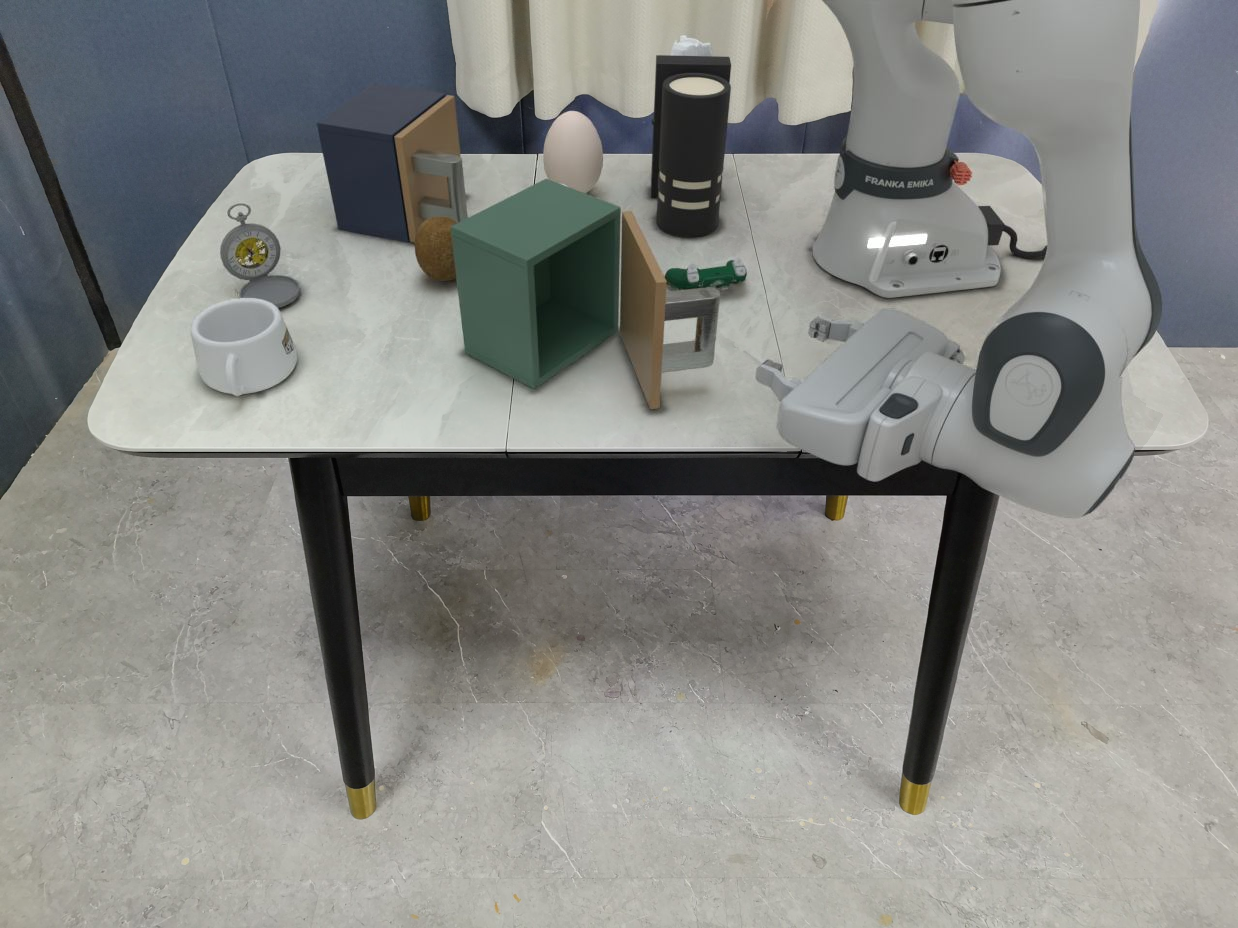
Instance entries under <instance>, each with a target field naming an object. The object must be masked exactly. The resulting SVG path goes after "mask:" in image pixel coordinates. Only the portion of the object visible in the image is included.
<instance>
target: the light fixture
mask: <svg viewBox="0 0 1238 928" xmlns="http://www.w3.org/2000/svg"><path fill="white" fill-rule="evenodd" d="M731 72H732V61H731V58H730V56H717V55H716V56H715V55H713V56H671V55H668V54H667V55H665V54H663V55H662V54H656V56H655V77H654V99H653V118H652V119H651V125H652V126H653V127H652V146H651V147H652V149H651V172H650V173H651V174H650V198H651V199H656V218H655V221H656V225H657V227H658V228H659V229H660V230H661V231H662V232H664V233H666V234H668V235H671V236H676V237H681V238H700V237H704V236H707V235H709V234H711V233H713V232H715V230H716V229H717V228H718V225H719V216H720V208H721V207H720V206H721V192H722V187H723V185H722V184H723V172H724V164H725V153H726V144H727V134H728V123H729V114H730V113H729V112H730V103H731V92H732V91H731V90H732V85H731V75H732V73H731Z"/></svg>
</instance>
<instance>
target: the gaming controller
mask: <svg viewBox="0 0 1238 928" xmlns="http://www.w3.org/2000/svg"><path fill="white" fill-rule="evenodd" d="M747 275H748V271H747V268H746V266H745V264H744V262H743V259H741V258H740V257H738V256H737V257H735V258H734V259H730V260H728V261H727V262H726V263H725V265H722V266H714V267H706V268H698V266H697V265H696V264H695V263H690V264H689V265H688V266H687V268H681V267H672V268H668V269H667V270H666V271H665V275H664V277H665V279H666V281H667V284H669V285H670V286H672V287H673V288H675V289H676V290H687V289H697V288H706V287H712V288H713V287H714V288H715V289H717V290H719V291H720V292H726V291H728V290H729V287H730V285H737V284H739V283H743V282H745V281H746V278H747Z"/></svg>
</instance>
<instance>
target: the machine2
mask: <svg viewBox="0 0 1238 928" xmlns="http://www.w3.org/2000/svg"><path fill="white" fill-rule="evenodd" d="M621 208H622V207H621V206H619V205H616V204H613V203H611V202H608V201H605V200H604V199H601V198H598V197H595V196H593V195H590V194H588V193H586V194H585V193H583V192H580V191H577V190H575V189H572V188H570V187H567V186H564V185H562V184H559V183H557V182H554V181H551V180H549V179H548V178H544V179H542V180H540V181H538V182H536V183H534V184H533V185H530V186H528V187H527V188H525V189H522V190H521V191H519V192H517V193H515V194H513V195H509V197H507V198H505V199H503V200H501V201H499V202H497V203H495V204H493V205H490V206H488V207H487V208H485V209H483V210H481V211H478V212H476V213H475V214H472V215H470V216H469V217H468V218H467V219H465V220H463V221H461V222H459V223H457V224H455V225H453V226H451V235H452V244H453V253H454V261H455V270H456V278H455V279H456V286H457V295H458V304H459V310H460V311H459V313H460V321H461V330H462V337H463V346H464V347H463V348H464V353H465V354H466V355H468V356H469V357H471V358H474V359H475V360H477V361H480V362H481V363H483V364H485V365H487V366H489V367H491V368H493V369H494V370H497V371H498V372H500V373H502V374H504V375H506V376H508V377H510V378H512V379H514V380H515V381H517V382H519V383H521V384H523V385H525V386H527V387H529V388H531V389H533V390H535V389H537V388H539V387H540V386H541V385H543V384H544V383H546V382H548V381H549V380H550V379H551V378H553V377H554V376H556V375H558V374H559V373H561V371H563V370H564V369H566V368H567V367H569V366H570V365H571V364H573V363H574V362H576V361H577V360H579V359H580V358H582V357H583V356H585V355H586V354H588V353H590V351H592V350H593V349H594V348H596V347H597V346H599V345H600V344H602V343H604V342H605V341H606V340H607V339H609V338H610V337H612V336H613V335H615V334H616V333H617V332H619V323H620V270H621V216H622V212H621V211H622V209H621Z"/></svg>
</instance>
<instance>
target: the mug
mask: <svg viewBox="0 0 1238 928" xmlns="http://www.w3.org/2000/svg"><path fill="white" fill-rule="evenodd" d="M189 332H190V337H191V342H192V347H193V350H194V358H195V363H196V366H197V371H198V373H199V375H200V377H201V380H202V381H203V382H204V383H205V384H206V385H207V386H208V387H210V388H211V389H213V390H215V391H218V392H220V393H225V394H229V395H233V396H235V397H239V396H241V395H245V394H246V395H247V394H252V393H253V394H254V393H258V392H262V391H265V390H269V389H270V388H272V387H274V386H276V385H278V384H280V383H281V382H283V381H284V380H285V379H287V378H288V377H289V375H291V373H292V372H293V370H294V369H295V367H296V364H297V362H298V354H297V348H296V345H295V343H294V341H293V338H292V336H291V333H290V331H289V329H288V327H287V324H286V321H285V319H284V317H283V314H282V313H281V311H280V309H279V308H277V307H276V306H275V305H274V304H272V303H271V302H268V301H265V300H262V299H256V298H240V297H238V298H231V299H226V300H223V301H219V302H217V303H215V304H212V305H209V306H208V307H206V308H205V309H203V310H201V311H200V312H199V313H197V315H196V316H194V318H193V320H192V322H191V323H190V331H189Z"/></svg>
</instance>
